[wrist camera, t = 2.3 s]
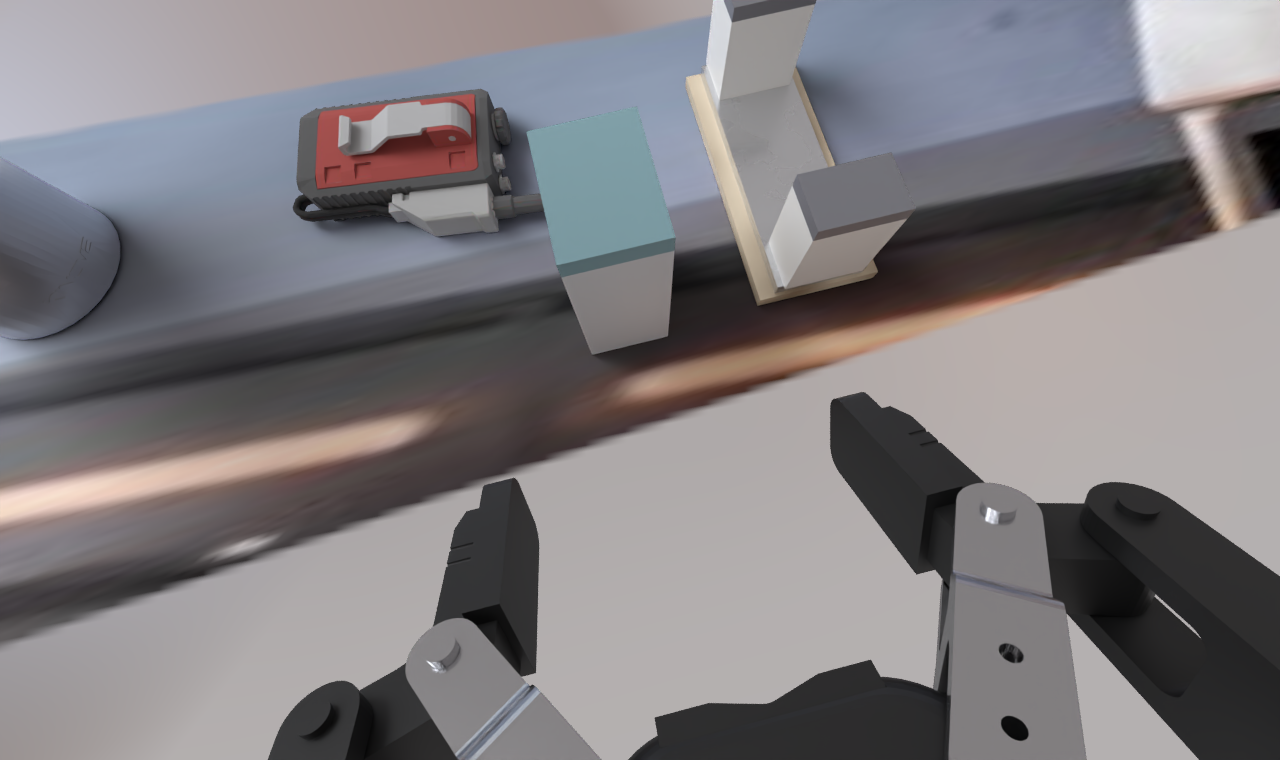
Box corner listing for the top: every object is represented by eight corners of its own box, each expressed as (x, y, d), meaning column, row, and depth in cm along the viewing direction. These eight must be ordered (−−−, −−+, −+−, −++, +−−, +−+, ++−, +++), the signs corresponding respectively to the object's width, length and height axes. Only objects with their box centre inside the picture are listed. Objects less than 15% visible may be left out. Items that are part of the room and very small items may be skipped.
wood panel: (757, 305, 30) (760, 300, 29) (685, 87, 34) (686, 77, 33) (872, 278, 30) (878, 271, 29) (787, 64, 34) (790, 53, 33)
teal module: (592, 354, 29) (556, 265, 19) (570, 262, 31) (526, 131, 20) (667, 336, 30) (675, 237, 19) (642, 245, 31) (636, 106, 20)
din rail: (774, 293, 29) (777, 287, 28) (700, 76, 33) (701, 66, 32) (861, 272, 29) (867, 265, 29) (778, 59, 33) (781, 48, 32)
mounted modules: (784, 289, 28) (818, 231, 23) (706, 62, 32) (717, -37, 27) (862, 270, 29) (916, 208, 23) (774, 47, 33) (801, -55, 27)
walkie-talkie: (308, 258, 32) (627, 220, 32) (254, 219, 28) (623, 175, 28) (314, 139, 34) (613, 104, 34) (265, 86, 30) (607, 46, 30)
